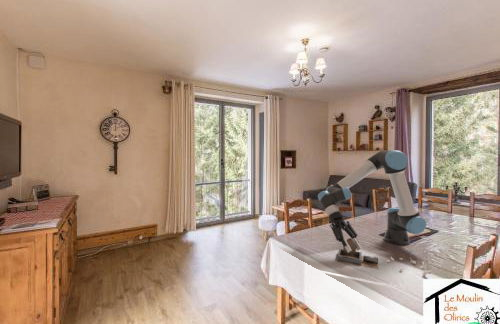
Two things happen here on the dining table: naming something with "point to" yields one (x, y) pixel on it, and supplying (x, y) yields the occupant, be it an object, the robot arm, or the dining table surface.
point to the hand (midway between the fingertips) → (354, 250)
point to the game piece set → (413, 263)
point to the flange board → (363, 263)
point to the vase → (352, 246)
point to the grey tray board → (356, 261)
